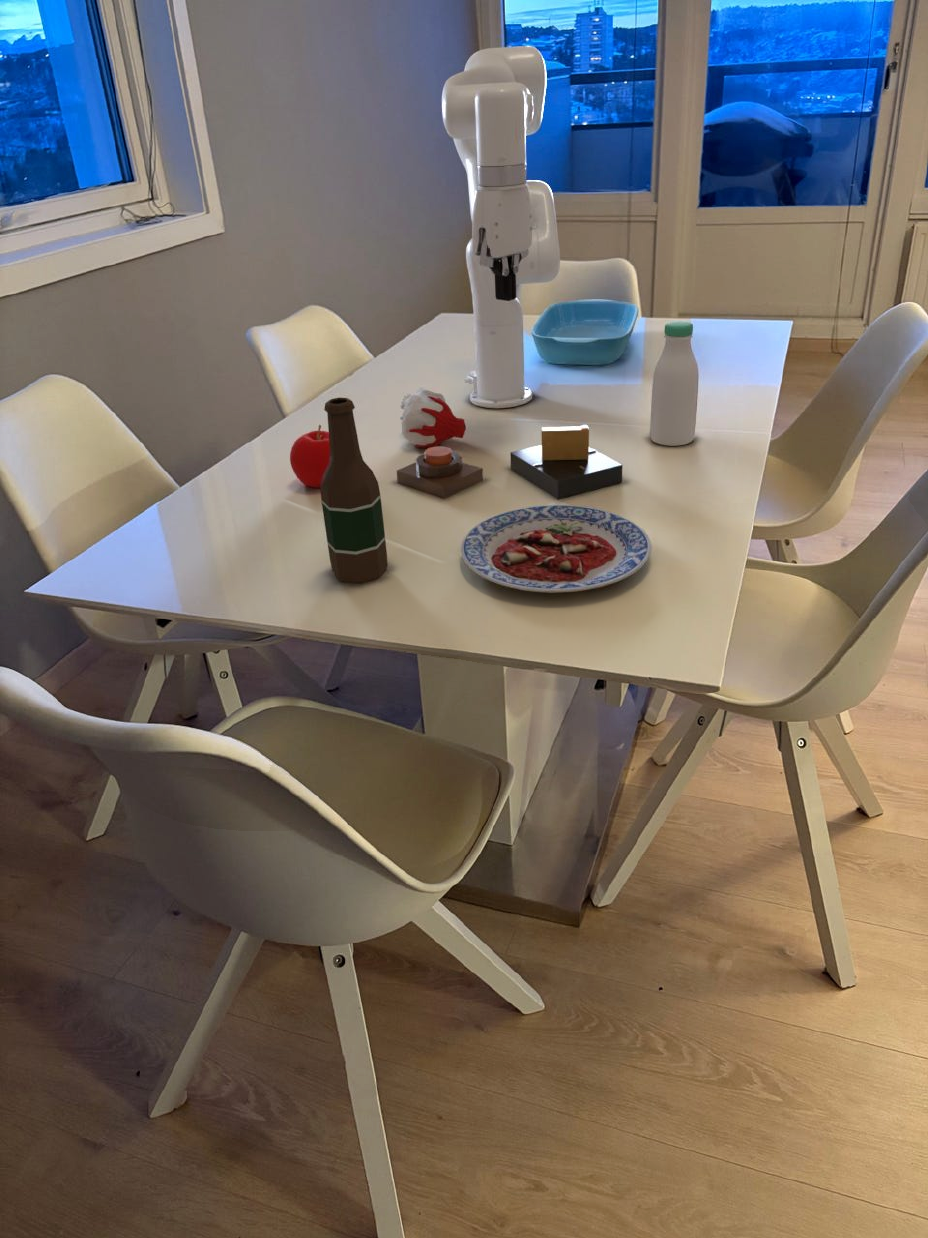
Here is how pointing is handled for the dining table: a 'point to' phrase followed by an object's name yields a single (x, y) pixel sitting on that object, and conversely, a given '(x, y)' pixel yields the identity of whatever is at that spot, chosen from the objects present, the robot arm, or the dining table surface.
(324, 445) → the fruit
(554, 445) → the tap lever
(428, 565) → the dining table surface
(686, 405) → the milk bottle
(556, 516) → the ceramic plate
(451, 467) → the button block
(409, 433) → the white and red skull
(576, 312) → the casserole dish
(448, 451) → the button
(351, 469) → the beer bottle
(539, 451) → the plate
